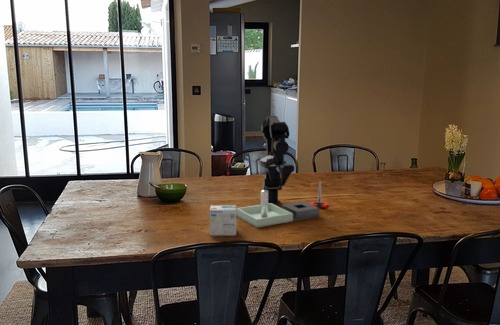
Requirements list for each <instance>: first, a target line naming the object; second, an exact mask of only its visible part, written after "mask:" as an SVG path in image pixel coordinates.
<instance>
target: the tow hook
mask: <svg viewBox="0 0 500 325" xmlns="http://www.w3.org/2000/svg"><path fill="white" fill-rule="evenodd" d="M318 184H319V185H318V196H317V201H312V202H310V203H309V204H311V205H313V206H315V207H318V208H319V209H326V208H327V207H328V206H329V204H328V202H325V201H322V181H321V180H319V182H318Z"/></svg>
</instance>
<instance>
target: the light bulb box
mask: <svg viewBox="0 0 500 325" xmlns="http://www.w3.org/2000/svg"><path fill="white" fill-rule="evenodd" d="M236 208H237V205H236V204H235V205H233V204H232V205H225V204H224V205H212V204H211V205H210V207H209V236H237V230H238V229H237V228H238V226H237V225H238V224H237V220H238V219H237V218H238V217H237V215H236Z"/></svg>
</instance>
